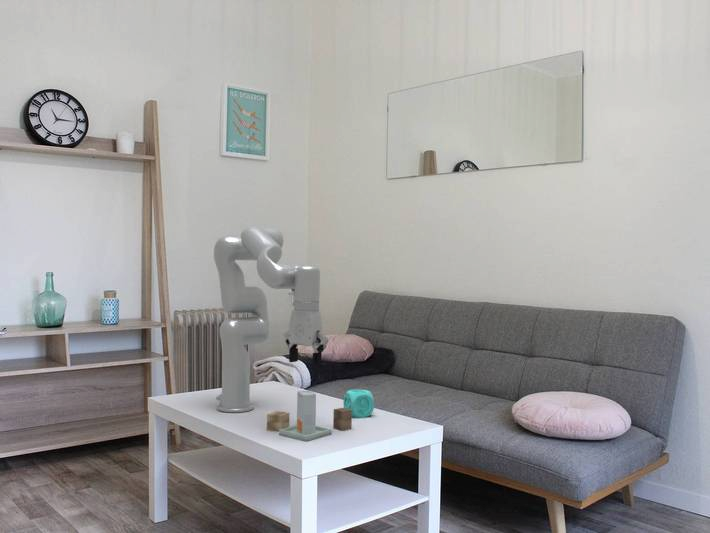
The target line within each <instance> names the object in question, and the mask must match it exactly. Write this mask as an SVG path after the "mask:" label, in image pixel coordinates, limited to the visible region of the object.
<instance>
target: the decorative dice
mask: <svg viewBox="0 0 710 533" xmlns="http://www.w3.org/2000/svg"><path fill="white" fill-rule="evenodd" d="M343 408H347V409H351V410H352V418H354V417H357V418H358V419H362V417H365V418H369V417H370V416H371V414H373V412H374V408H375V400H374V396H373V393H372V392H371V391H370V390H367V389H349V390H347V391H346V392H345V394H344V395H343ZM368 416H369V417H368ZM357 418H356V419H357Z"/></svg>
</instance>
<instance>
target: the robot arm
mask: <svg viewBox="0 0 710 533" xmlns="http://www.w3.org/2000/svg"><path fill="white" fill-rule="evenodd" d="M283 244H284V236H283V233H282V232H281V231H280V229H278V228H276V227H273V226H262V225H261V226H255V225H252V226H248V227H246V228H244V229H243V230H242V231H241V233H240V235H225V236H221V237H219V238H218V239H217V241H215V245H214V248H213V258H214V259H213V260H214V262H215V267H216V269H217V273H218V278H219V279H218V280H219V289H220V299H221V307H222V309H223V311H224V312H225V313H227V314H230V315H237V314H238V315H239V314H240V315H241V314H242V315H246V314H249V316H248V317H245V316H244V317H243V316H241V317H239V316H238V317H230V318H227V319H225V320H223V322H221V325H220V326H219V336H220V342H221V344H220V345H221V353H222V354H221V355H222V357H221V358H222V359H221V361H222V362H221V363H222V364H221V365H222V366H221V368H222V369H221V393H219V395H216V397H215V399H216V400H217V401H219V404H217V405H216V410H218V411H220V412H222V413H224V412H225V413H244V412H250V411H252V410H254V408H255V405H254V404H253V403H251V402H250V393H251V392H250V388H251V387H250V386H251V384H250V383H251V382H250V381H251V380H250V379H251V372H250V371H251V356H250V354H249V352H248V350H247V348H246V347H245V346H246V345H259V344H263V343H265V342H266V341H267V340H268V338H269V335H270V325H269V324H270V322H269V313H268V303H267V297H266V294H265V292H264V291H263V289H261V288H260V287H258V286H246V284H245V275H244V271H243V270H242V268H241V267H240V265H239V264H238V263H237V262H236V261H256V271H257V274H258V277H259V278H260V279H261V280H262V281H263V282H264V284H265V285H267V286H268V287H269V288H271V289H276V290H282V289H284V290H289V289H290V290H291V289H292V290H294V295H293V296H294V298H293V299H294V301H293V302H292V306H293V310H292V311H291V314H290V318H289V326H288V331H286V332H284V333H283V336H284V339H285V344H286V346H287V348H288V350H289V354H288V358H289V359H288V362H289V363H295V362H298V361H299V348H298V346H303V347H304V346H305V347H311V348H312V350H313V353H312V367H319V366H322V353H324V350H325V349H326V348H327V345H328V342H329V338H328V337H327V336H326V335H325V334H323V328H322V327H323V326H322V317H321V312H320V290H321V288H320V286H321V285H320V284H321V270H320V268H319V267H318V266H315V265H314V266H313V265H304V264H288V263H287V264H285V263H284V264H279V263H278V262H279V261H280V260H281V258H282V255H283V249H282V248H283ZM277 263H278V264H277Z"/></svg>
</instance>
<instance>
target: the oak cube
mask: <svg viewBox="0 0 710 533" xmlns="http://www.w3.org/2000/svg"><path fill="white" fill-rule="evenodd" d="M288 427H290V412H287V411H279V410H275V411H274V410H273V411H271V412H269V413H267V414H266V431H269V432H277V433H279V430H280V429H284V428H288Z"/></svg>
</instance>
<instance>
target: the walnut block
mask: <svg viewBox="0 0 710 533" xmlns="http://www.w3.org/2000/svg"><path fill="white" fill-rule="evenodd" d="M332 419H333V421H332V422H333V424H332V425H333V426H332V428H333V429H334V430H337V431H340V432H344V431H349V429H350V430H352V428H353V426H352V422H353V417H352V410H351V409H347V408H344V407H338V408H333V418H332Z"/></svg>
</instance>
